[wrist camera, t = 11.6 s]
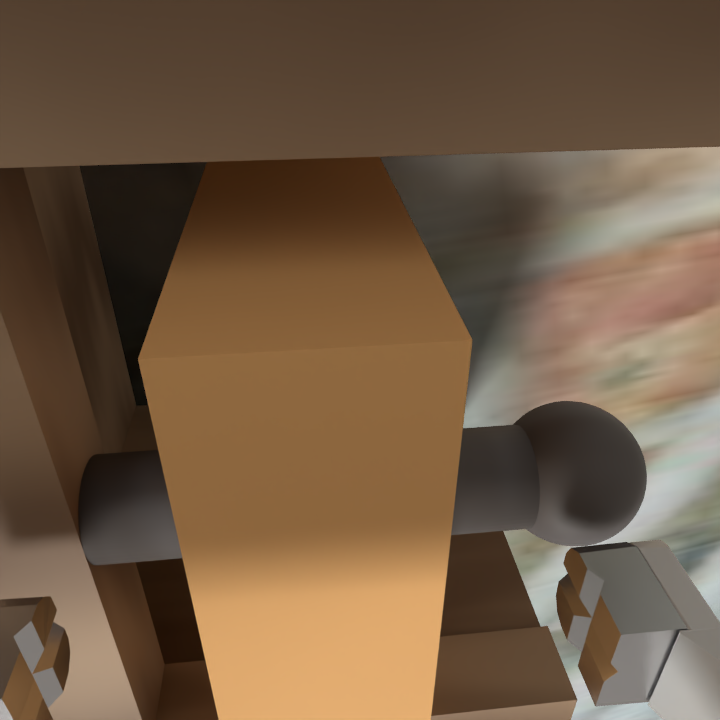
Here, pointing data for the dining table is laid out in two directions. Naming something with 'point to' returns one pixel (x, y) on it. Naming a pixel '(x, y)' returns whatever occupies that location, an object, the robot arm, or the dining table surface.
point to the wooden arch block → (309, 438)
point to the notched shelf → (279, 142)
